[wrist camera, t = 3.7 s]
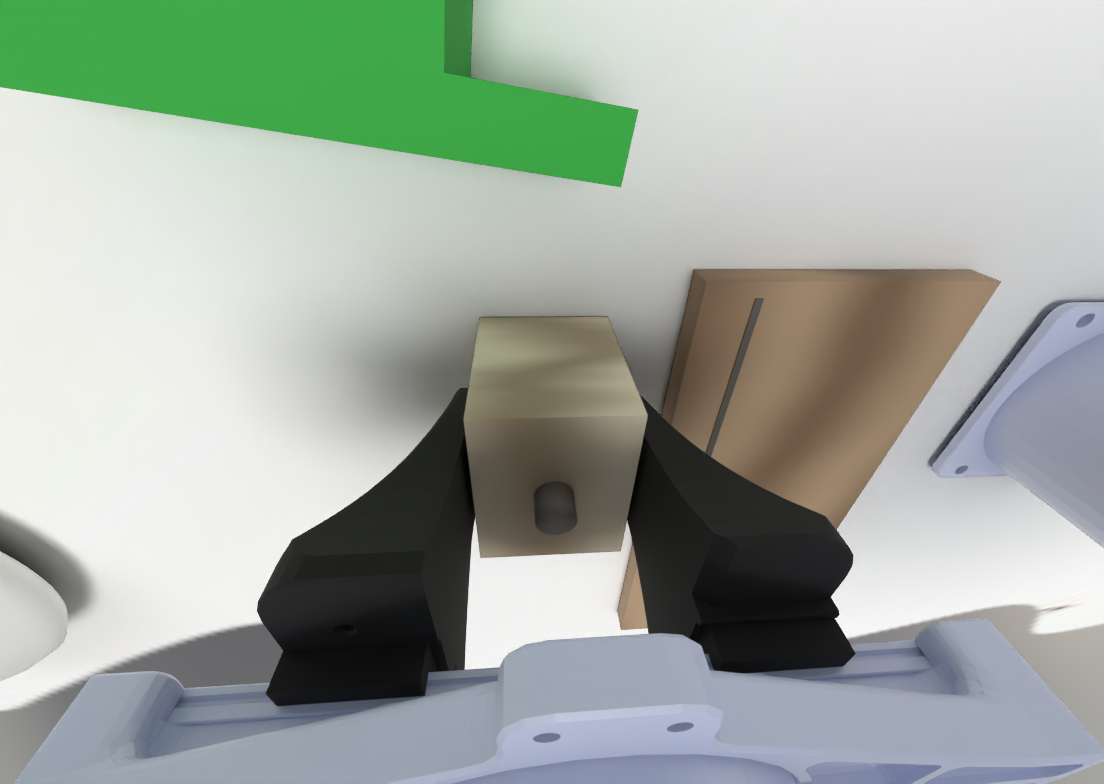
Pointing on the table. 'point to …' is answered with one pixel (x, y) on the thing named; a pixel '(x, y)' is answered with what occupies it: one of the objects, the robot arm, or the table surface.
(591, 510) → the beige boxy piece
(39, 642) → the flower in vase
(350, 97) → the pipe clamp
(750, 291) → the board
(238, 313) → the table surface
